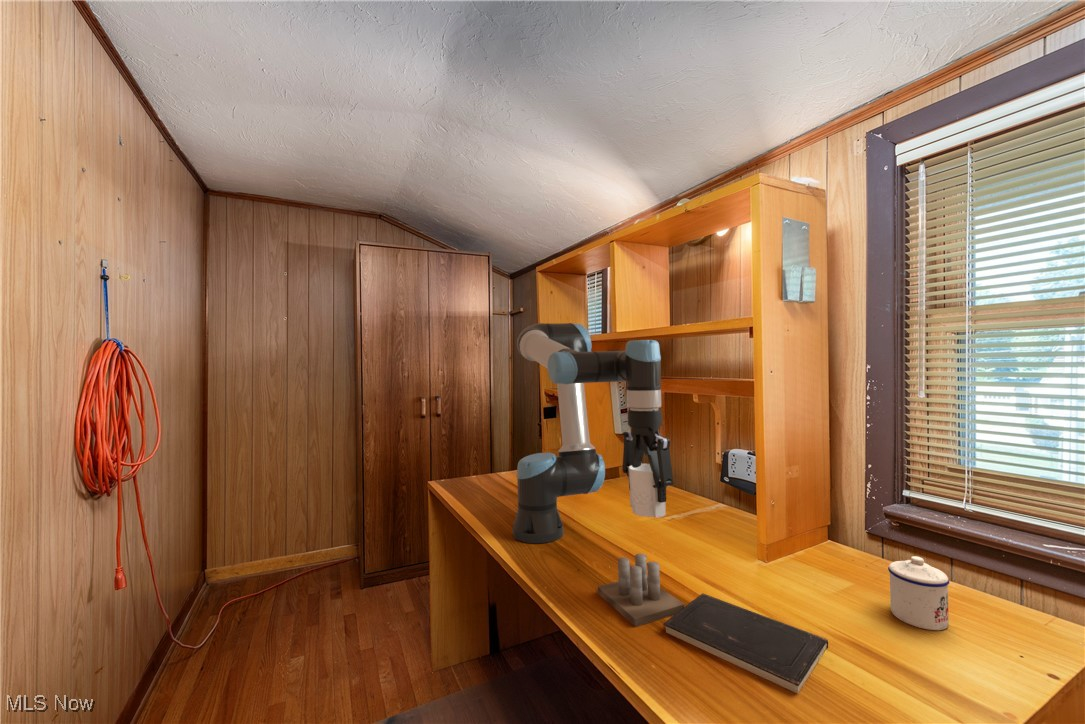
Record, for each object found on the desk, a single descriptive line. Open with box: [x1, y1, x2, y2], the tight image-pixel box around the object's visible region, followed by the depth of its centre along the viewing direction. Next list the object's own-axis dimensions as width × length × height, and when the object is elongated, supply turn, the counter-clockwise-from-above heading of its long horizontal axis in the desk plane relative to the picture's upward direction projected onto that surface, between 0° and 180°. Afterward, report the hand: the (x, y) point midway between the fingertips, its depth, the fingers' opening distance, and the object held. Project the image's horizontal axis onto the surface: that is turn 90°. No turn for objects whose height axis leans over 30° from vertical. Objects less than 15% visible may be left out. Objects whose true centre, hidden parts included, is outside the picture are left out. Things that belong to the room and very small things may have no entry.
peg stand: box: [597, 553, 685, 628], centre depth 95 cm, size 14×12×8 cm
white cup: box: [627, 463, 655, 518], centre depth 101 cm, size 8×8×10 cm
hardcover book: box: [662, 592, 829, 694], centre depth 82 cm, size 16×23×2 cm
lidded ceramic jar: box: [887, 555, 950, 631], centre depth 88 cm, size 12×9×12 cm
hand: (647, 510), depth 101 cm, fingers closed on white cup, 7 cm apart
